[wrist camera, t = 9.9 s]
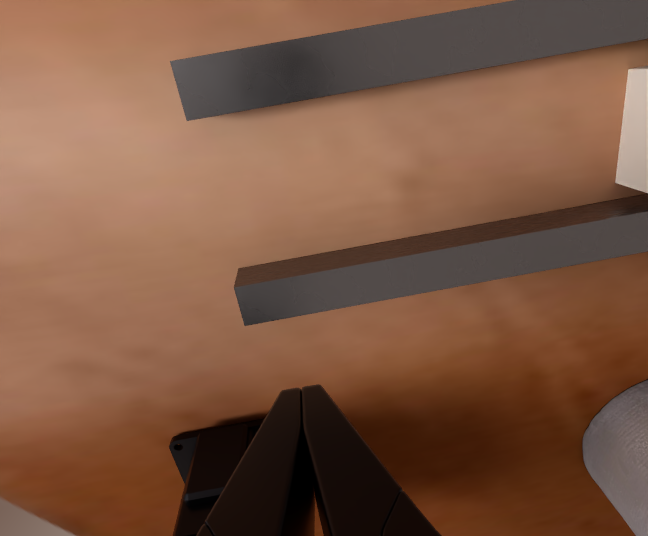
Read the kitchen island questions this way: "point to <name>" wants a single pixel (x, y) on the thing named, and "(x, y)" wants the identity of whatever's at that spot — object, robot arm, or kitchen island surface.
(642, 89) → the block
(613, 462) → the pillar candle
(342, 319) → the kitchen island surface
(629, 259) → the kitchen island surface
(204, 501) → the robot arm
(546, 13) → the track
